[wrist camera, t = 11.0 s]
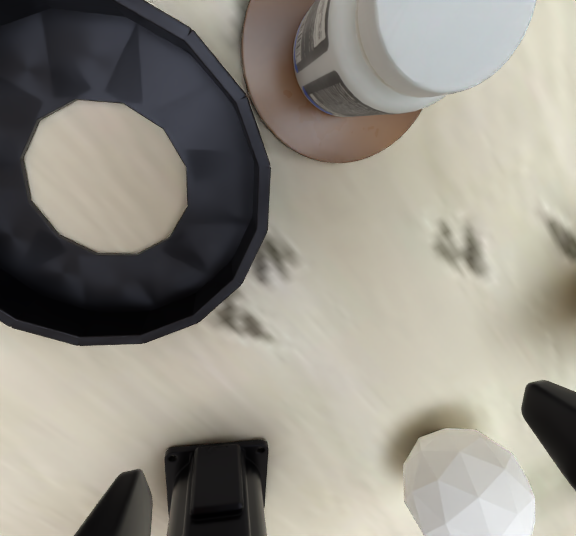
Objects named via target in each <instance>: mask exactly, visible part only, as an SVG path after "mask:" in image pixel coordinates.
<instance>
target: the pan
mask: <svg viewBox="0 0 576 536" xmlns="http://www.w3.org/2000/svg"><path fill="white" fill-rule="evenodd" d="M76 100H89V101H101V102H113V103H124V104H125V105H127V106H128V107H130V108H131V109H133V110H135V111H136V112H138V113H139V114H141V115H142V116H144V117H145V118H147V119H149V120H150V121H152V122H153V123H155V124H156V125H158V126H160V127H161V128H163V129H164V131H165V132H166V134H167V136H168V137H169V139H170V141H171V142H172V144H173V146H174V147H175V149H176V151H177V153H178V154H179V156H180V158H181V159H182V161H183V163H184V164H185V166H186V174H187V205H188V206H187V208H186V210H185V212H184V213H183V215H182V217H181V218H180V220H179V222H178V224H177V225H176V227H175V229H174V231H173V232H172V234H171V236H170V237H168V238H166V239H165V240H163V241H161V242H159V243H157V244H155V245H153V246H151V247H149V248H147V249H146V250H144V251H142V252H140V253H138V254H117V253H96V252H94V251H92V250H90V249H88V248H86V247H84V246H82V245H80V244H78V243H76V242H73V241H71V240H69V239H67V238H65V237H63V236H61V235H59V234H58V232H57V231H56V230H55V229H54V228H53V226H52V225H51V224H50V223H49V222H48V220H47V219H46V218H45V217H44V215H43V214H42V213H41V212H40V211H39V209H38V208H37V207H36V206H35V204H34V203H33V202H32V201H31V197H30V192H29V187H28V181H27V176H26V171H25V166H24V161H23V157H24V155H25V152H26V150H27V148H28V146H29V143H30V141H31V139H32V137H33V134H34V132H35V130H36V128H37V125H38V123H39V121H40V120H41V119H43V118H45V117H47V116H48V115H50V114H52V113H54V112H56V111H58V110H60V109H61V108H63V107H65V106H67V105H69V104H71V103H72V102H74V101H76ZM233 105H234V106H233ZM270 174H271V167H270V162H269V159H268V156H267V153H266V151H265V148H264V145H263V142H262V139H261V136H260V133H259V130H258V127H257V124H256V121H255V118H254V115H253V112H252V109H251V106H250V103H249V100H248V98H247V96H246V94H245V93H244V91H243V90H242V89H241V88H240V87H239V85H238V84H237V83H236V82H235V80H234V79H233V78H232V77H231V75H230V74H229V73H228V72H227V71H226V69H225V68H224V67H223V66H222V64H221V63H220V62H219V61H218V60H217V58H216V57H215V56H214V55H213V53H212V52H211V51H210V50H209V49H208V47H207V46H206V45H205V44H204V42H203V41H202V40H201V39H200V37H199V36H198V35H197V34H196V33H195V31H194V30H192V29H191V28H190V27H189V26H187V25H185V24H183V23H182V22H180V21H178V20H177V19H175V18H173V17H171V16H170V15H168V14H166V13H165V12H163V11H161V10H160V9H158V8H156V7H154V6H153V5H151V4H149V3H148V2H146V1H144V0H0V321H1V322H3V323H4V324H6V325H7V326H9V327H10V326H11V327H12V328H14V329H18V330H22V331H25V332H29V333H33V334H36V335H40V336H44V337H47V338H51V339H55V340H59V341H62V342H66V343H70V344H73V345H77V346H78V345H80V346H93V345H121V344H142V343H147V342H149V341H152V340H155V339H157V338H160V337H163V336H165V335H168V334H170V333H173V332H176V331H178V330H181V329H184V328H186V327H189V326H191V325H194V324H197V323H198V322H200V321H201V320H202V319H204V318H205V317H206V316H207V315H208V314H209V313H210V312H211V311H213V310H214V309H215V308H216V307H217V306H218V305H219V304H220V303H222V302H223V301H224V300H225V299H226V298H227V297H228V296H229V295H230V294H232V293H233V292H234V291H235V290H236V289H237V288H238V287H239V286H241V284H242V283H243V281H244V279H245V277H246V275H247V273H248V271H249V269H250V267H251V265H252V262H253V260H254V258H255V256H256V254H257V252H258V250H259V248H260V246H261V244H262V242H263V240H264V238H265V235H266V233H267V230H268V213H269V194H270Z"/></svg>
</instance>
